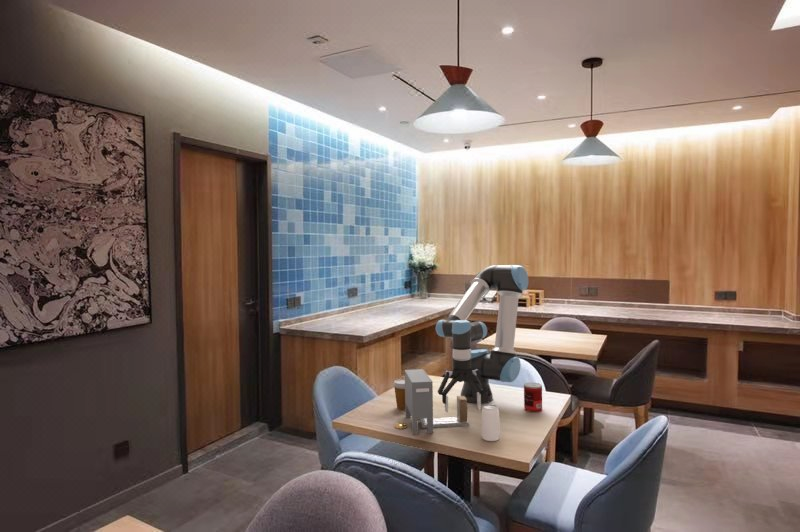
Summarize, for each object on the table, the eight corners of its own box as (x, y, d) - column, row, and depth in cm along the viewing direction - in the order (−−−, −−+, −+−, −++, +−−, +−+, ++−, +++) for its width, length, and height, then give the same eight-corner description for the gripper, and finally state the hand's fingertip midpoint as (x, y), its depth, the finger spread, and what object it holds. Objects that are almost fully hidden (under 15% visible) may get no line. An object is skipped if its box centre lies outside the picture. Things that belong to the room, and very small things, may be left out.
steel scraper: (464, 420, 201) (464, 395, 201) (469, 425, 194) (468, 399, 194) (419, 422, 199) (419, 397, 199) (422, 428, 192) (422, 402, 192)
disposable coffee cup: (412, 411, 213) (412, 384, 212) (391, 410, 214) (391, 383, 214) (416, 405, 222) (415, 379, 222) (395, 404, 224) (395, 378, 224)
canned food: (542, 407, 216) (542, 382, 215) (541, 412, 208) (541, 387, 208) (525, 405, 218) (524, 381, 218) (523, 411, 211) (523, 386, 210)
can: (479, 435, 183) (479, 404, 182) (496, 435, 183) (496, 403, 183) (484, 442, 176) (483, 409, 176) (501, 441, 177) (501, 408, 177)
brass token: (401, 424, 197) (401, 421, 197) (409, 427, 194) (409, 424, 194) (392, 427, 194) (391, 424, 194) (400, 430, 190) (400, 427, 190)
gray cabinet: (423, 415, 207) (423, 369, 207) (433, 433, 185) (432, 382, 185) (405, 416, 206) (404, 369, 206) (413, 435, 184) (412, 383, 184)
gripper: (488, 355, 202) (489, 405, 202) (430, 358, 199) (431, 409, 199) (494, 359, 194) (495, 411, 195) (433, 362, 191) (434, 415, 192)
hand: (462, 410), depth 197 cm, fingers open, 13 cm apart
